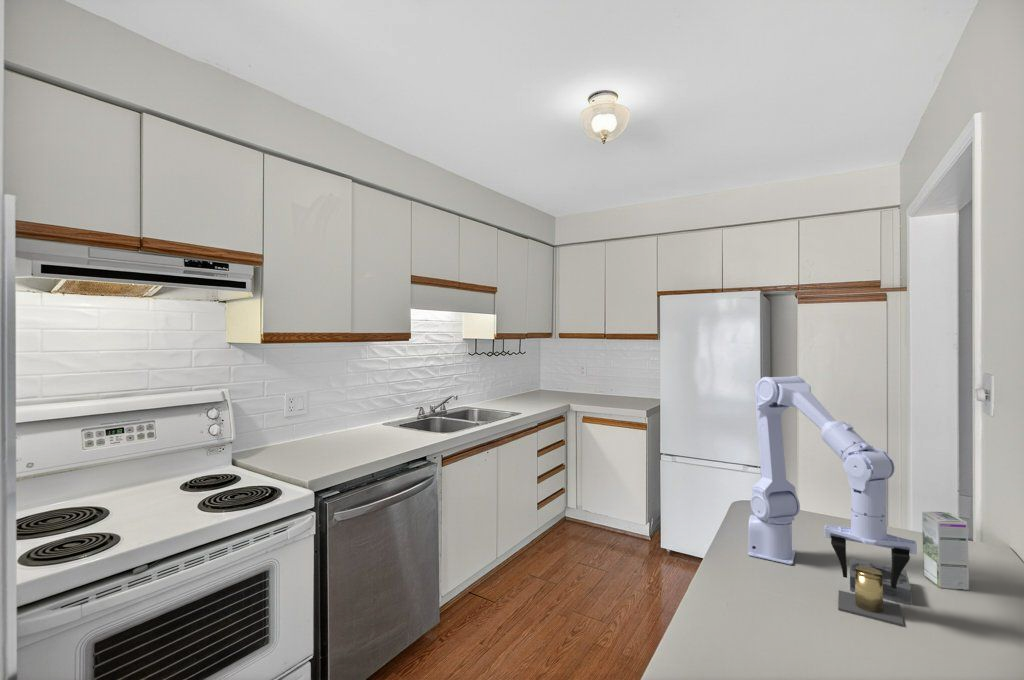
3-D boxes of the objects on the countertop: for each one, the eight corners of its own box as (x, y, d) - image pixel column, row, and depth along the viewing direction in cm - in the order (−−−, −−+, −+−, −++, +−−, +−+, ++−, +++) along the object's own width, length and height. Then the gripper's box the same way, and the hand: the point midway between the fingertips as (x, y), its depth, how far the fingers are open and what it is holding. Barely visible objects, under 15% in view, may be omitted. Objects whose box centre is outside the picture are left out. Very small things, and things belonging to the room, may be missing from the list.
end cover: (855, 608, 95) (855, 572, 95) (855, 598, 99) (854, 563, 99) (883, 615, 93) (883, 578, 93) (882, 604, 96) (882, 569, 96)
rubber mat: (838, 609, 95) (838, 607, 95) (838, 592, 102) (838, 590, 102) (903, 626, 90) (903, 624, 90) (899, 606, 96) (899, 604, 96)
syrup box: (970, 590, 102) (970, 521, 102) (937, 588, 103) (937, 520, 103) (951, 577, 108) (951, 512, 108) (921, 575, 109) (920, 510, 109)
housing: (850, 590, 103) (850, 576, 103) (849, 571, 111) (849, 558, 111) (911, 604, 97) (911, 589, 97) (906, 583, 105) (905, 569, 105)
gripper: (824, 510, 97) (824, 579, 97) (918, 526, 88) (919, 600, 89) (825, 500, 102) (825, 565, 103) (914, 514, 94) (914, 584, 94)
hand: (868, 580), depth 96 cm, fingers open, 7 cm apart
